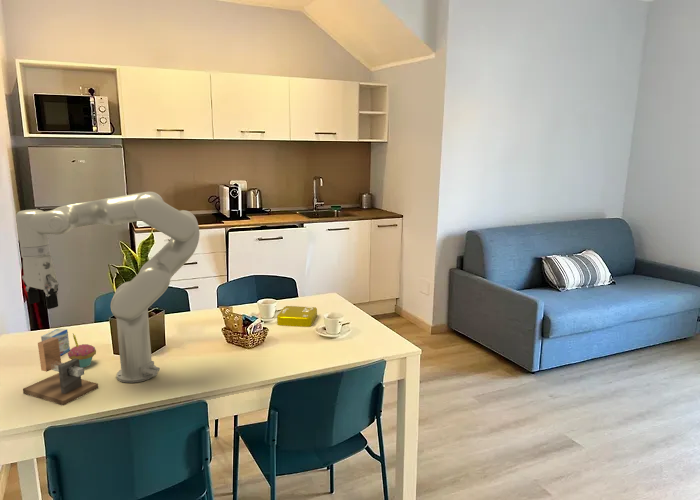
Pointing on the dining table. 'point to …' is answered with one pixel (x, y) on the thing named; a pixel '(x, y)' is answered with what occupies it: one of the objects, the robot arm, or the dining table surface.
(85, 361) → the cupcake
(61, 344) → the medicine box
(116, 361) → the dining table surface
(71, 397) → the eye board
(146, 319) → the robot arm
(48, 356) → the tan grey angled piece
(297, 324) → the element tile
